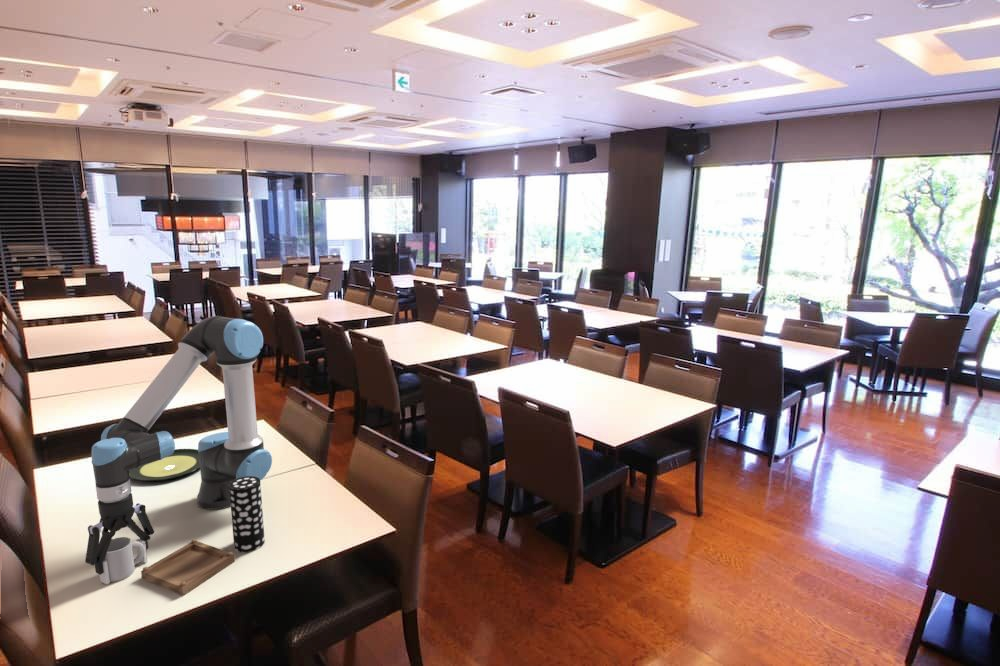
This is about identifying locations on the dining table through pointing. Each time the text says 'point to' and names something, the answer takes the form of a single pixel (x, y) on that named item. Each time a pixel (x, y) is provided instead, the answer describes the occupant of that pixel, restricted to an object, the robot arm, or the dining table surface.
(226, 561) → the wooden tray
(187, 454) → the plate
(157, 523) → the dining table surface
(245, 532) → the white-spotted black cylinder
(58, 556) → the dining table surface
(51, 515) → the dining table surface
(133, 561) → the cup
